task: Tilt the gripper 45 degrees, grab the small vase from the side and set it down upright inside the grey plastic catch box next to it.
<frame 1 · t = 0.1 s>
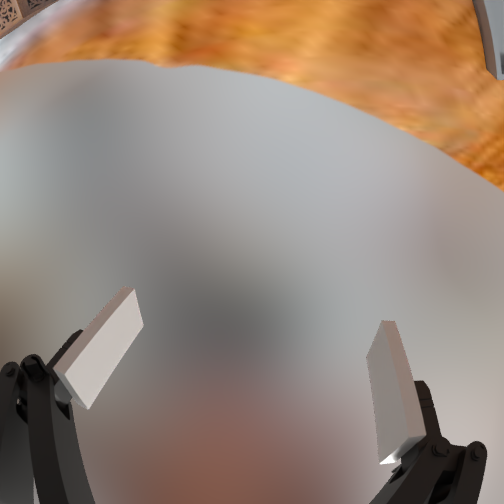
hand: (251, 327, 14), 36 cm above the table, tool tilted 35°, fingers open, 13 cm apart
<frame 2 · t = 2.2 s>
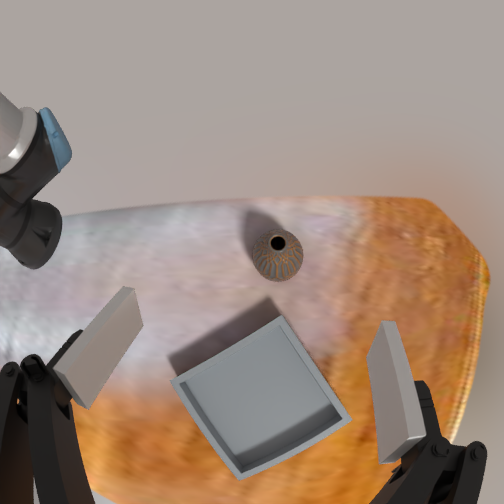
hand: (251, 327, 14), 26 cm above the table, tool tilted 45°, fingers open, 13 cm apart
catch box: (261, 400, 35), on the table
vase: (278, 263, 42), on the table
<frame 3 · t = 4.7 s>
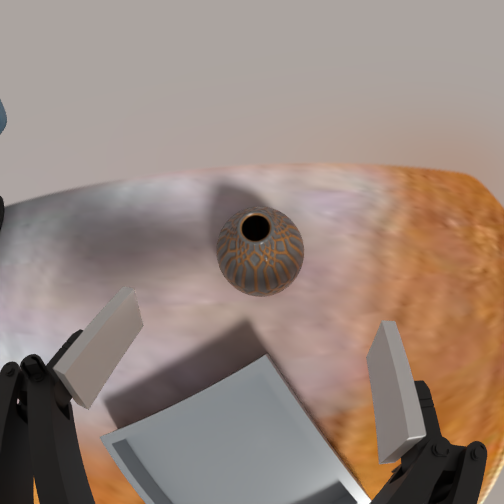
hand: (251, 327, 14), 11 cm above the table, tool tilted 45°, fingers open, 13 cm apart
catch box: (235, 472, 19), on the table
vase: (263, 265, 26), on the table
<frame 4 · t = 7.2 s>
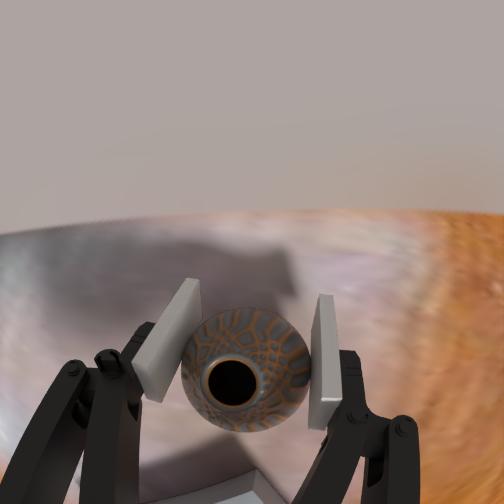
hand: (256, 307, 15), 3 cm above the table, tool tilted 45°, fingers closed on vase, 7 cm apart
vase: (253, 364, 18), on the table, touching gripper
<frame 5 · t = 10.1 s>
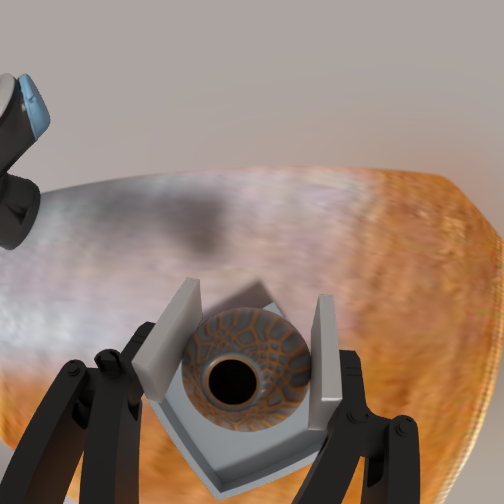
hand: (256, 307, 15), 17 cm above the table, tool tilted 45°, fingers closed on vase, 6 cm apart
catch box: (247, 408, 28), on the table
vase: (253, 364, 18), point 13 cm above the table, touching gripper
when the fingers open (6 cm above the table, at t = 12.9 s): vase drops 1 cm, resting on catch box.
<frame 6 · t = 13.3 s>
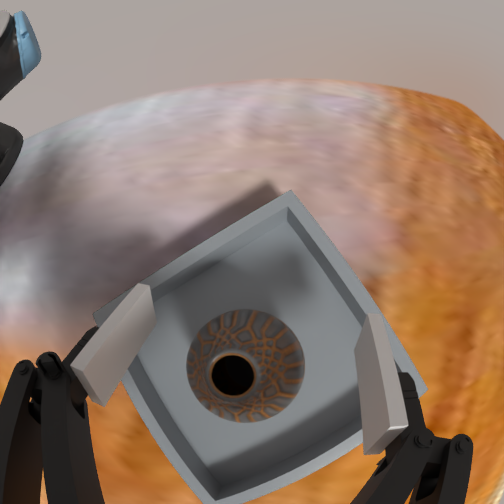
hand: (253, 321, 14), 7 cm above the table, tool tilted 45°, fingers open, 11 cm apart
catch box: (255, 362, 20), on the table
vase: (252, 362, 19), point 1 cm above the table, touching catch box
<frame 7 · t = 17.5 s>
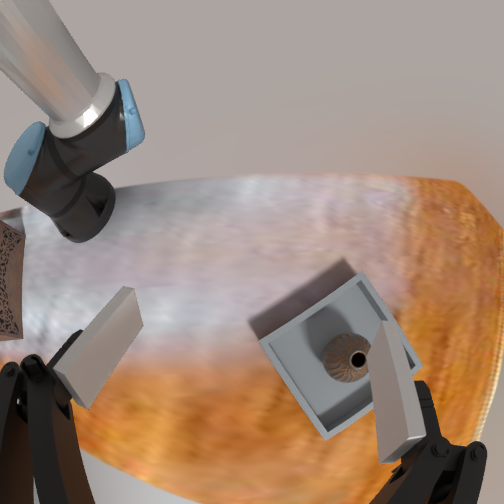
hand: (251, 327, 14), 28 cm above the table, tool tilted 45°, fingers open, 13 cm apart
catch box: (341, 356, 38), on the table
tissue box cover: (8, 289, 48), on the table
vase: (341, 356, 37), point 1 cm above the table, touching catch box
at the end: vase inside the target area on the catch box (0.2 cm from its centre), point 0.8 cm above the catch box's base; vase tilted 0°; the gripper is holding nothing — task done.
